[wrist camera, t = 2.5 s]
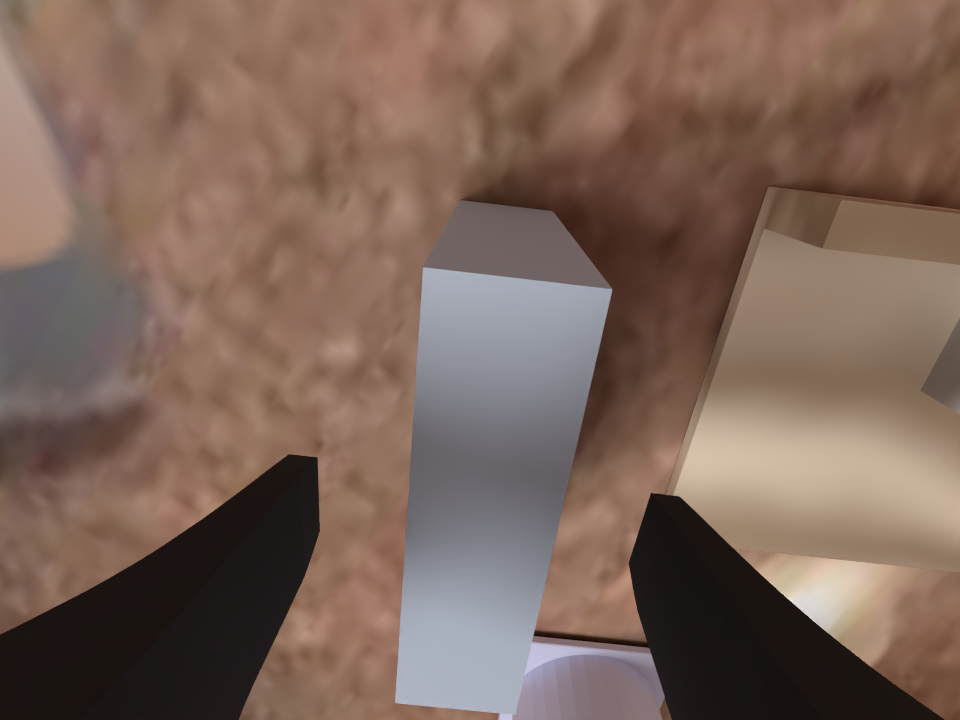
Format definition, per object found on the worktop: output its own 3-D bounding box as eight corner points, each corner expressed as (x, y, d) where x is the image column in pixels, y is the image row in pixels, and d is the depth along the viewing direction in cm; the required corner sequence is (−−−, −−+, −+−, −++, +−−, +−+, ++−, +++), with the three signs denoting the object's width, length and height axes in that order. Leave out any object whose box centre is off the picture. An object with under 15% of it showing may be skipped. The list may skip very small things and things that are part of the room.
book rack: (1017, 568, 22) (1111, 646, 18) (653, 529, 21) (682, 601, 18) (1262, 246, 16) (1464, 274, 12) (768, 186, 15) (841, 199, 12)
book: (507, 483, 21) (515, 714, 12) (435, 476, 20) (395, 702, 12) (552, 211, 16) (612, 289, 8) (460, 199, 16) (423, 267, 8)
